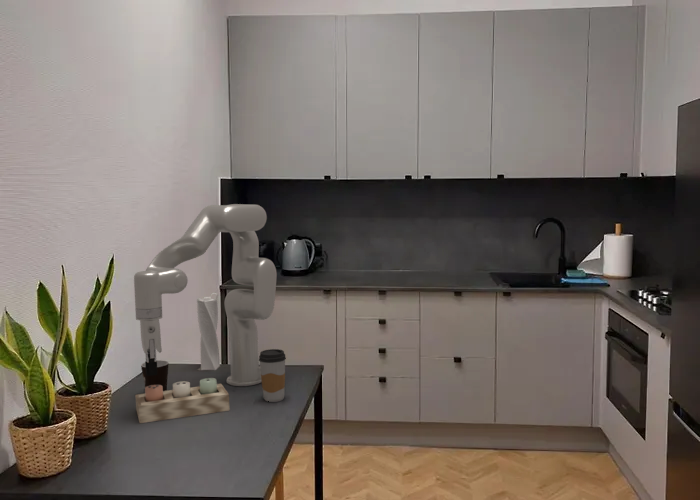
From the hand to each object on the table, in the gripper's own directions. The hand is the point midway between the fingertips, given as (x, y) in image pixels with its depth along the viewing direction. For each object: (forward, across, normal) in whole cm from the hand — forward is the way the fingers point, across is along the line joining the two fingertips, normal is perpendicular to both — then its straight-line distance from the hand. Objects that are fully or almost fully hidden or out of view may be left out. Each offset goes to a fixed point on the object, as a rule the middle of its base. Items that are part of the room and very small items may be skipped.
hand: (151, 374), depth 217 cm
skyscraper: (+12, +44, -25) cm, 52 cm away
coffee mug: (+12, +22, -4) cm, 26 cm away
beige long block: (+12, 0, -9) cm, 15 cm away
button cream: (+9, 0, -9) cm, 12 cm away
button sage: (+9, 0, -17) cm, 19 cm away
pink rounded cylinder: (+9, 0, -1) cm, 9 cm away
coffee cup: (+12, -1, -37) cm, 38 cm away
